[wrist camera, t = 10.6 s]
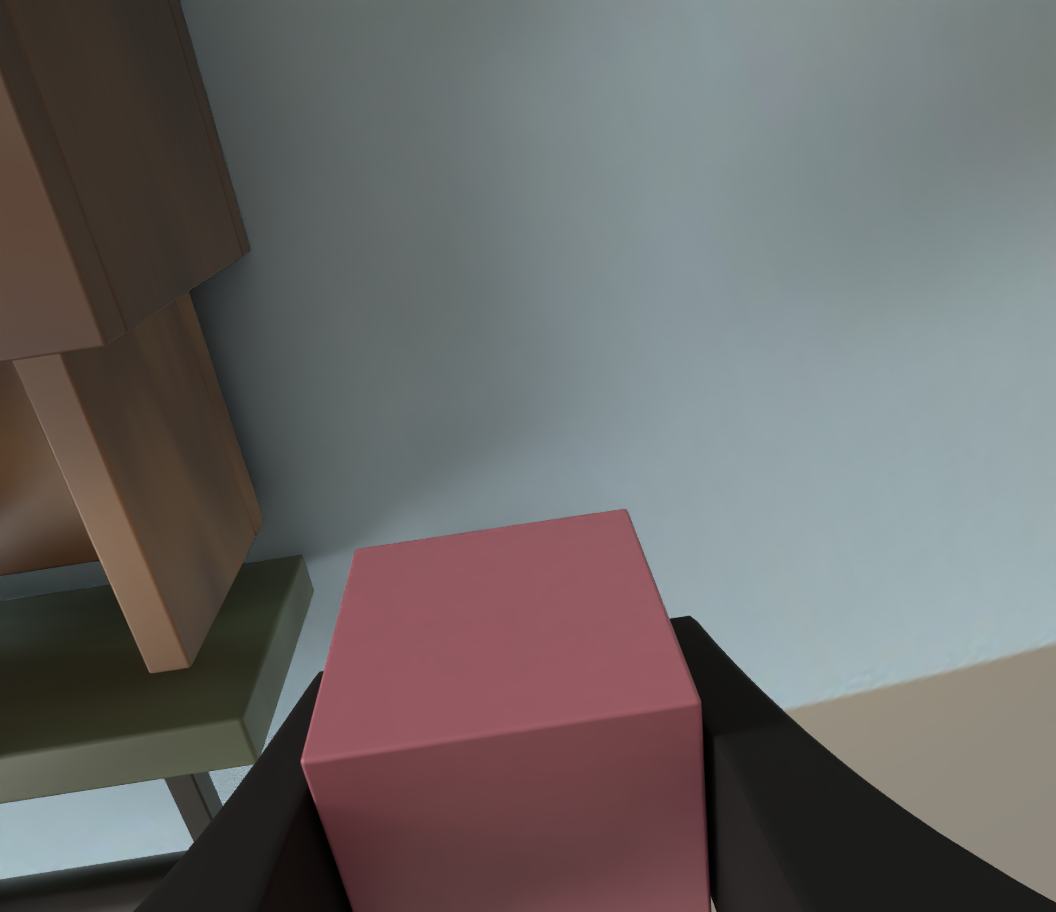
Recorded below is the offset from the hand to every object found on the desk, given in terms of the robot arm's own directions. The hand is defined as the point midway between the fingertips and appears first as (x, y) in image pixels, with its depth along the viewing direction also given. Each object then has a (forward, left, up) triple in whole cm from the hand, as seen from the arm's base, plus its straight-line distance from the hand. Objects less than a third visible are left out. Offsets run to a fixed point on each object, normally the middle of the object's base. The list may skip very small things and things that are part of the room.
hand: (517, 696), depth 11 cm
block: (0, 0, -1) cm, 1 cm away
